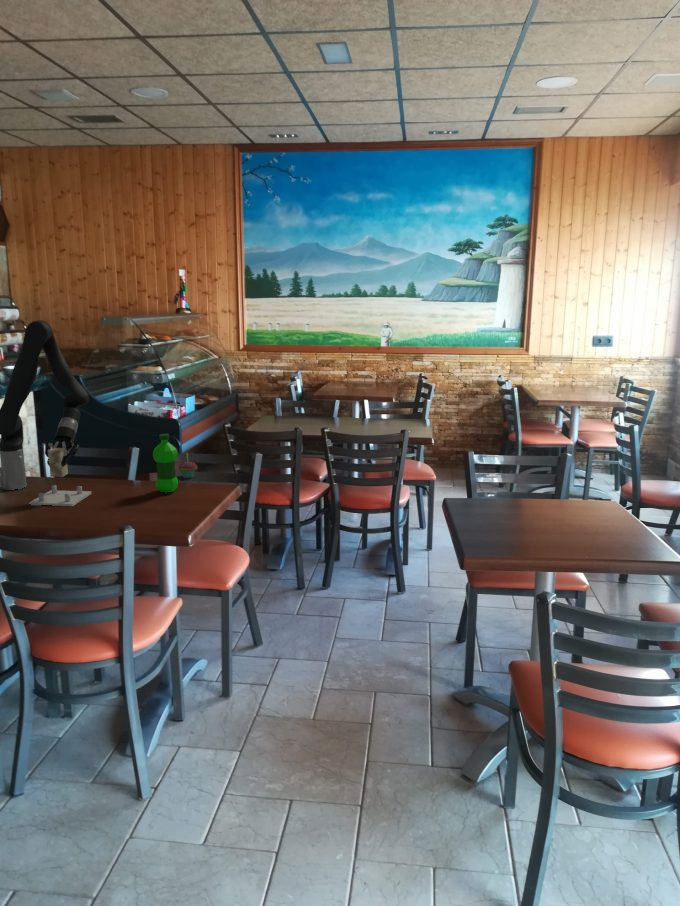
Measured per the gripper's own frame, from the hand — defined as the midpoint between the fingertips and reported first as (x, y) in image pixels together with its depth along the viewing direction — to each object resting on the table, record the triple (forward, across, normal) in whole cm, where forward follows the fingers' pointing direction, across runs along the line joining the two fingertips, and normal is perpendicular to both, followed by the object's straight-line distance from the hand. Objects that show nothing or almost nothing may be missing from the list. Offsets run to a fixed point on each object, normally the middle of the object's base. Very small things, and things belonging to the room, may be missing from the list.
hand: (56, 465), depth 277 cm
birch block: (+2, 0, +5) cm, 5 cm away
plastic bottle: (-1, +40, +23) cm, 46 cm away
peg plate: (+9, 0, +12) cm, 15 cm away
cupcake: (-18, +42, +41) cm, 61 cm away
